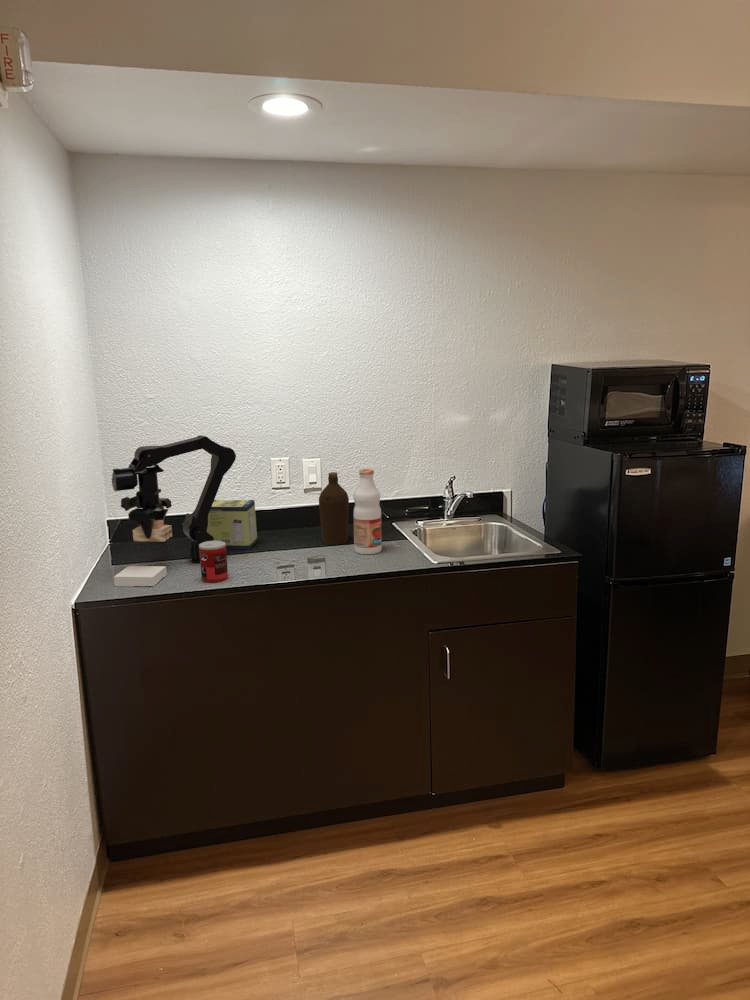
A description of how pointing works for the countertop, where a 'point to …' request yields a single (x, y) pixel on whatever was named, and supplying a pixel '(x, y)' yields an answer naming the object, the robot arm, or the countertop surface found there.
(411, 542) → the countertop surface
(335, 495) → the olive oil
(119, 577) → the white flat block
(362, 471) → the fruit juice
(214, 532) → the protein box
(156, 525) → the block
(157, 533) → the pallet
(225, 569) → the canned food
